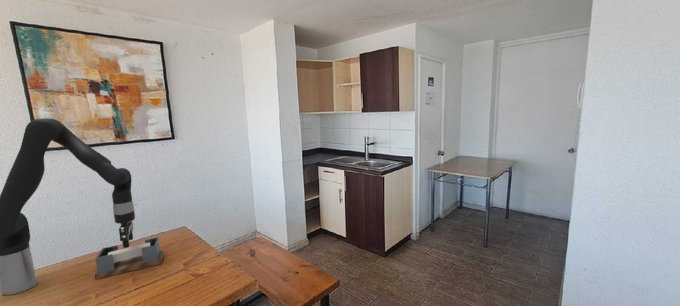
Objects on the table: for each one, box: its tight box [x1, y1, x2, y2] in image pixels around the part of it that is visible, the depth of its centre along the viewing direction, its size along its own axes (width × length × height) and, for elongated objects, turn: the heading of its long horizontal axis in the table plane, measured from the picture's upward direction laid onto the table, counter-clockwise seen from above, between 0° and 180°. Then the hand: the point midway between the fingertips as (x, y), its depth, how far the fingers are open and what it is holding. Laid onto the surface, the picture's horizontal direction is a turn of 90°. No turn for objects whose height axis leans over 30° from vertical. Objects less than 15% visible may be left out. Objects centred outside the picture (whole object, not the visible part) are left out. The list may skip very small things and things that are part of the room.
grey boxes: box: [95, 236, 162, 274], centre depth 131 cm, size 23×11×8 cm, turn 118°
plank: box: [94, 249, 165, 280], centre depth 132 cm, size 25×11×2 cm, turn 118°
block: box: [108, 242, 150, 263], centre depth 131 cm, size 16×4×4 cm, turn 125°
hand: (128, 243), depth 130 cm, fingers open, 8 cm apart
